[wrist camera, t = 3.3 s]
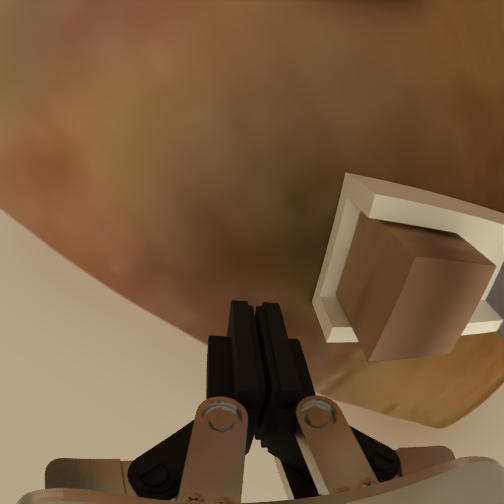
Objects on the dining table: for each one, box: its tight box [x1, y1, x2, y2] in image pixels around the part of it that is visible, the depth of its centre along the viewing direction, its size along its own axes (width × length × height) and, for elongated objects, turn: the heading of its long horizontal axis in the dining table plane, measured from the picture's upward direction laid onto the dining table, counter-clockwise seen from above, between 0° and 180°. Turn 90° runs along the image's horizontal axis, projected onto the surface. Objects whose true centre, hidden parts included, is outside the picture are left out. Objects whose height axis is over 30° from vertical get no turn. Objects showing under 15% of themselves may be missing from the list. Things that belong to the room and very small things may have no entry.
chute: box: [312, 173, 504, 342], centre depth 18 cm, size 18×9×5 cm, turn 82°
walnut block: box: [336, 210, 496, 362], centre depth 16 cm, size 6×6×6 cm
